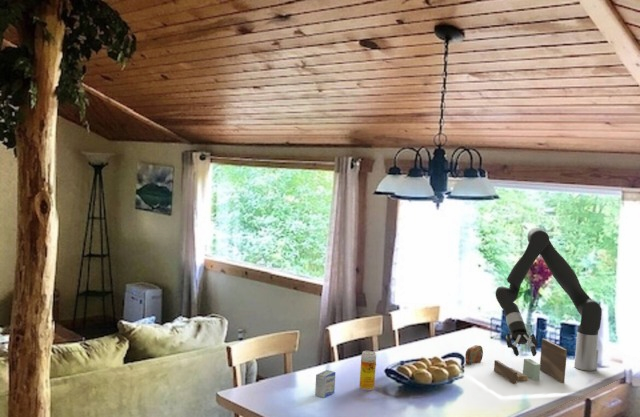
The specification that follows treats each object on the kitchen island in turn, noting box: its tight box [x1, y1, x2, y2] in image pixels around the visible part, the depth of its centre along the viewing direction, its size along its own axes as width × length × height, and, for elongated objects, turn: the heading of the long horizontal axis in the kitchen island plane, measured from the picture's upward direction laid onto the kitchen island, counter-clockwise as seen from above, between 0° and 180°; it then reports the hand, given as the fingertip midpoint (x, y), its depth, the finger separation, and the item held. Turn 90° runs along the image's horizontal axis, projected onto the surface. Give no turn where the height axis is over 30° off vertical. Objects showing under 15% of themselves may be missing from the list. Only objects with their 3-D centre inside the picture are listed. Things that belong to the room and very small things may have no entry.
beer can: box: [359, 350, 377, 392], centre depth 274 cm, size 6×6×15 cm
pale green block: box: [522, 358, 541, 381], centre depth 300 cm, size 3×9×8 cm, turn 12°
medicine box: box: [314, 369, 336, 399], centre depth 265 cm, size 8×4×9 cm, turn 148°
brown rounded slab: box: [464, 344, 484, 366], centre depth 319 cm, size 15×3×8 cm, turn 143°
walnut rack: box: [493, 338, 568, 384], centre depth 300 cm, size 24×18×16 cm
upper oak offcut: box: [510, 367, 529, 382], centre depth 299 cm, size 5×12×2 cm, turn 17°
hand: (526, 355), depth 305 cm, fingers open, 8 cm apart
